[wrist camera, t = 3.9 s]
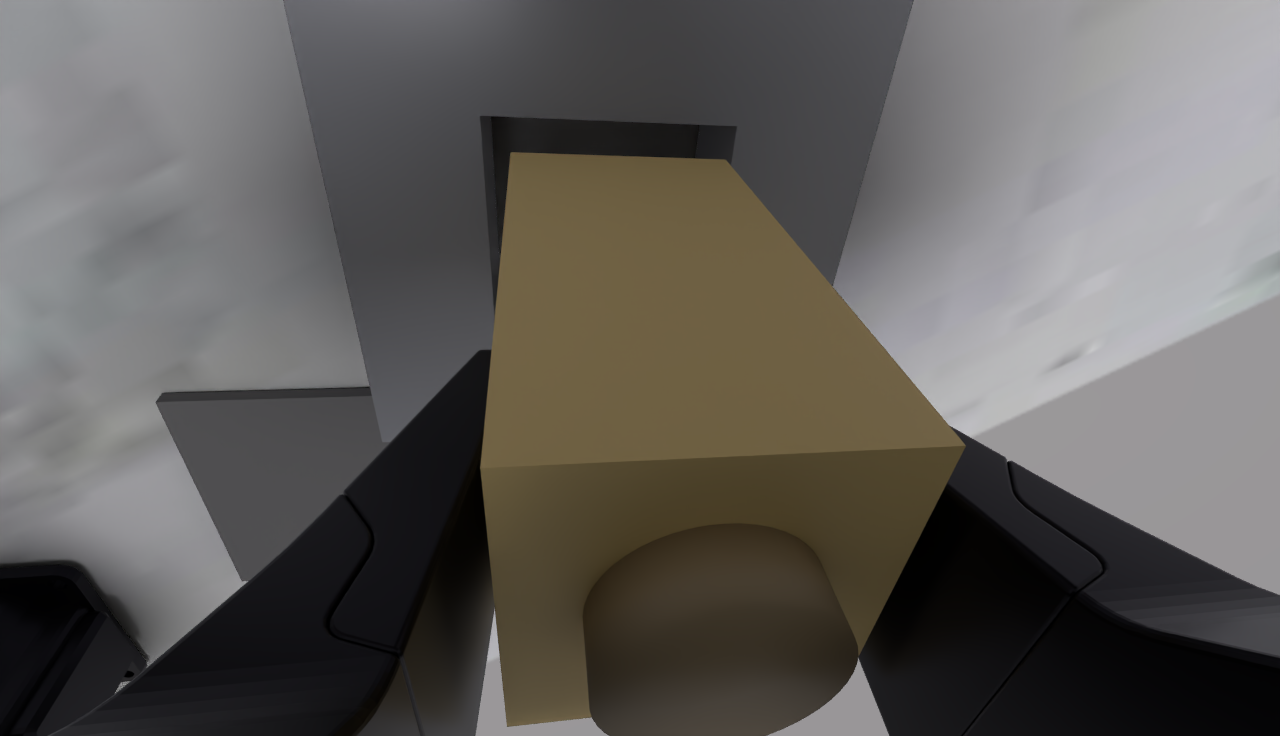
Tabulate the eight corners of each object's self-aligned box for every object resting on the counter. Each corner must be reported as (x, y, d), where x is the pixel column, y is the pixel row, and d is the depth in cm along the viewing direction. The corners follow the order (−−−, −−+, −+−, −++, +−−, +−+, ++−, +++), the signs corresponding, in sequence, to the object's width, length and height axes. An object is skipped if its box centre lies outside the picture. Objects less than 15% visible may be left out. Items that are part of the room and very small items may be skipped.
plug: (519, 340, 13) (504, 809, 6) (510, 151, 11) (470, 557, 4) (698, 337, 14) (871, 760, 7) (725, 159, 12) (1028, 518, 5)
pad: (246, 571, 22) (241, 581, 21) (162, 393, 17) (155, 402, 17) (477, 555, 23) (477, 564, 23) (456, 385, 18) (455, 393, 18)
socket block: (402, 373, 18) (382, 442, 16) (316, -96, 12) (260, -103, 9) (760, 365, 20) (793, 426, 17) (854, -47, 13) (925, -41, 11)
